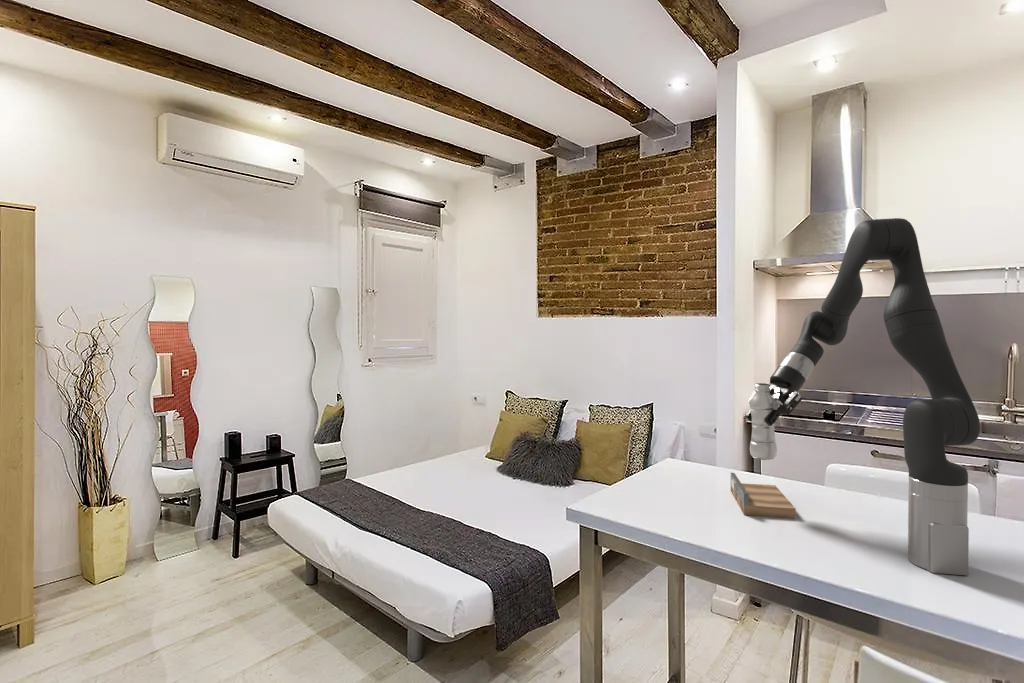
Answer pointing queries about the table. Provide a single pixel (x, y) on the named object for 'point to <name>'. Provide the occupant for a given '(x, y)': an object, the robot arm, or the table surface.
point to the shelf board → (765, 501)
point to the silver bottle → (762, 424)
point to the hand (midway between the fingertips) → (757, 421)
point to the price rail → (739, 489)
